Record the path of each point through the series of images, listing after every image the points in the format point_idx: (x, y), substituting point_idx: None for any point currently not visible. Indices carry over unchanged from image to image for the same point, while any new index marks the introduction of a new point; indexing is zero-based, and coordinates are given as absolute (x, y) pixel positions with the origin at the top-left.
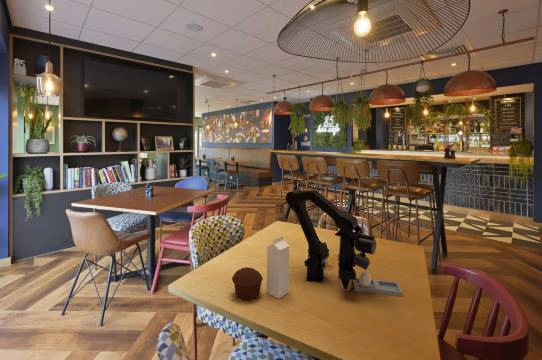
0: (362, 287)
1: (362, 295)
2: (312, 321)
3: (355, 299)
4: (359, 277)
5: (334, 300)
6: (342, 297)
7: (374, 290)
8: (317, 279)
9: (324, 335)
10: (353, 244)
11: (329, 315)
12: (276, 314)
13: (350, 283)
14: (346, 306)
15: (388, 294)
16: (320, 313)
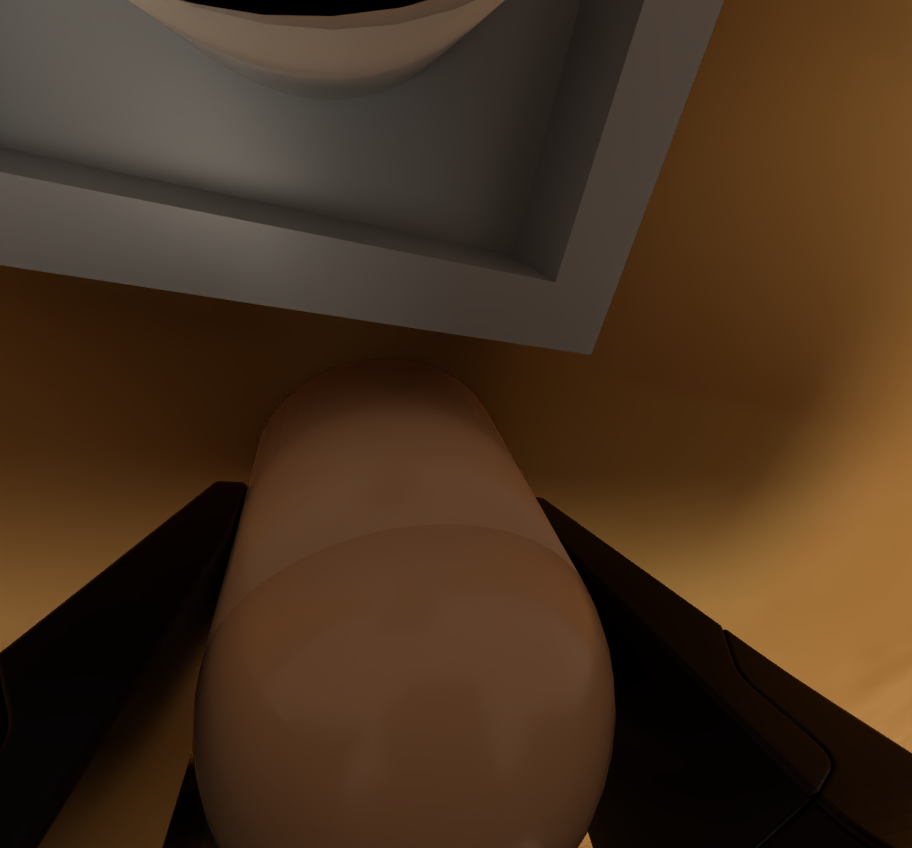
0: (666, 77)
1: (708, 147)
2: (892, 711)
3: (783, 351)
4: (155, 1)
5: (706, 611)
6: (670, 530)
7: None
8: (202, 838)
9: None
10: None
11: (900, 635)
12: None
13: (521, 490)
14: (868, 500)
15: None
16: (842, 687)
